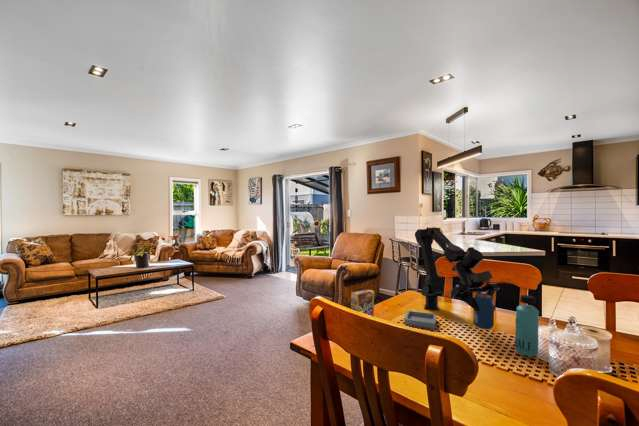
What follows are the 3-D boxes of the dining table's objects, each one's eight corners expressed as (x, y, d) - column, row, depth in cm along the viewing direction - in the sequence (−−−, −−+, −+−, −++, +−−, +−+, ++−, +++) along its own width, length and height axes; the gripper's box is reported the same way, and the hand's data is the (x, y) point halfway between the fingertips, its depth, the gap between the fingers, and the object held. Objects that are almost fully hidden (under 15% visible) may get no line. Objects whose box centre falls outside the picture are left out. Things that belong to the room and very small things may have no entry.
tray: (407, 315, 136) (407, 310, 136) (435, 319, 132) (435, 313, 132) (404, 325, 125) (404, 319, 125) (435, 329, 121) (435, 323, 121)
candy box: (356, 334, 115) (357, 294, 115) (349, 330, 119) (350, 291, 119) (374, 329, 120) (374, 291, 120) (366, 325, 124) (367, 288, 124)
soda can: (496, 327, 115) (497, 296, 115) (488, 331, 111) (489, 299, 110) (478, 321, 120) (479, 291, 120) (469, 325, 116) (470, 294, 116)
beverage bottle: (534, 353, 101) (535, 294, 101) (541, 363, 95) (543, 299, 95) (512, 350, 104) (513, 292, 103) (517, 359, 97) (519, 297, 97)
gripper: (456, 264, 117) (476, 301, 106) (496, 263, 121) (520, 298, 111) (443, 279, 125) (460, 315, 114) (481, 277, 129) (501, 312, 118)
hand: (486, 310), depth 114 cm, fingers closed on soda can, 7 cm apart
